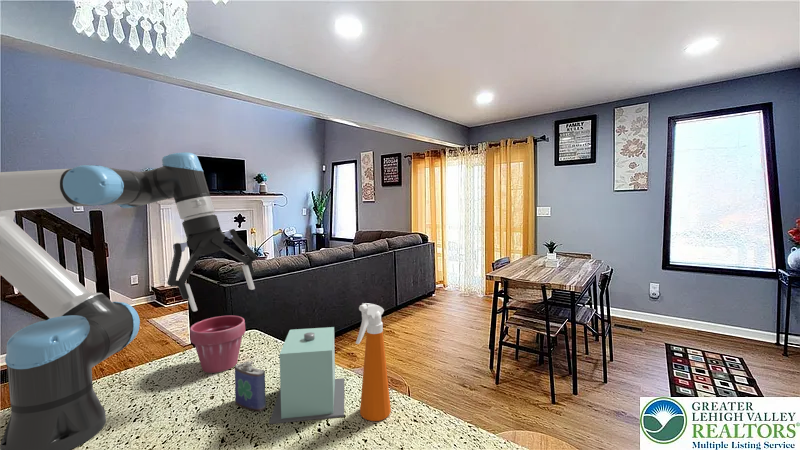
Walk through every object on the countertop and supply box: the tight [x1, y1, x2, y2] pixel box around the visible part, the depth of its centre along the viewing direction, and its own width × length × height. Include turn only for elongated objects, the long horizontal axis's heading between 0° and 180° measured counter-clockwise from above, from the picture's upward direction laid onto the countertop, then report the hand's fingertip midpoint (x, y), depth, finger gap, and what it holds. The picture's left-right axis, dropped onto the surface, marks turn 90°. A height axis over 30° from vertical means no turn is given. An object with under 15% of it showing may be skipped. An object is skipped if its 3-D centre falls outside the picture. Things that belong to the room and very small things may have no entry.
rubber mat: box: [268, 378, 345, 425], centre depth 83 cm, size 16×16×1 cm
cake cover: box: [279, 326, 336, 419], centre depth 82 cm, size 11×14×16 cm
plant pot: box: [189, 315, 246, 374], centre depth 100 cm, size 14×14×13 cm
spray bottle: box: [355, 302, 392, 422], centre depth 75 cm, size 7×11×26 cm, turn 154°
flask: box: [234, 360, 267, 413], centre depth 80 cm, size 9×3×11 cm, turn 63°
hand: (224, 299), depth 85 cm, fingers open, 13 cm apart
